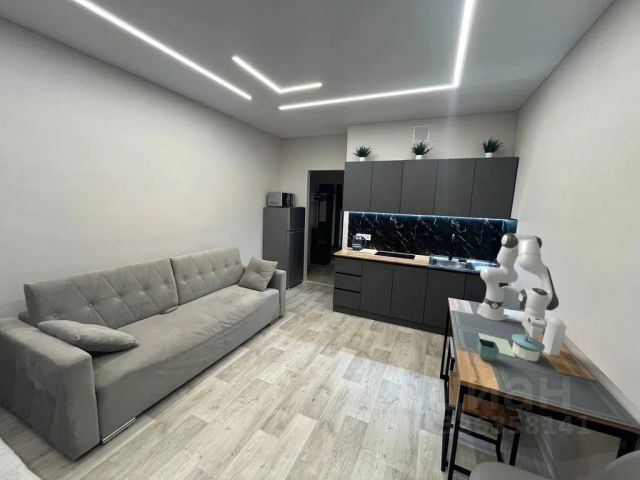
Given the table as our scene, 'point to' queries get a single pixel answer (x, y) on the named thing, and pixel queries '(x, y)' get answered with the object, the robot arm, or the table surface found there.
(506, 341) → the mat
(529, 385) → the table surface
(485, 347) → the flower pot
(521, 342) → the lid
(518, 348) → the bowl
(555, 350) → the milk
